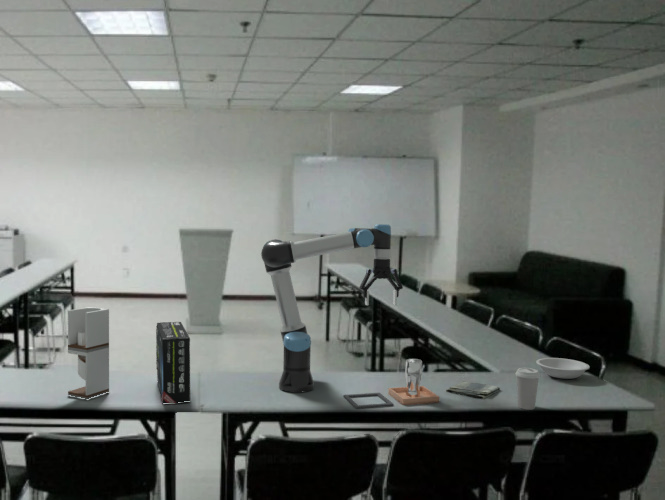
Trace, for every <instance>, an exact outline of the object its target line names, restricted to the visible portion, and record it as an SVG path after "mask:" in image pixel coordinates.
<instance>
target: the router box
mask: <svg viewBox="0 0 665 500" xmlns="http://www.w3.org/2000/svg"><path fill="white" fill-rule="evenodd" d="M155 333H156V334H155V335H156V336H155V340H156V343H155V344H156V345H155V346H156V347H155V349H156V350H155V351H156V353H155V354H156V358H155V359H156V362H155V364H156V370H157V371H156V375H157V376H156V379H157V381H158V382H157V386H158V385H159V386H158V390H159V394H161V395H160V399H161V398H162V399H161V403H162V402H163V403H178V402H184V401H190V402H191V350H190V347H191V338H190V336H189V334H188V332H187V330H186V329H185V326H184V325H183V323H182V321H168V322H161V321H160V322H157V323H156V328H155ZM163 403H162V404H163Z"/></svg>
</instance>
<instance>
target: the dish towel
mask: <svg viewBox="0 0 665 500" xmlns="http://www.w3.org/2000/svg"><path fill="white" fill-rule="evenodd" d="M500 390H501V388H500V387H499V386H496V385H492V384H485V383H479V382H472V381H466V380H463V381H462V382H460V383H458V384H456V385H453V386H451V387H449V388H447V389H445V392H446V393H452V394H456V395H459V394H460V395H462V396H466V397H468V398H475V399H476V398H477V399H481V400H484V399H487V398H488V397H489V396H491V395H493V394H495V393H497V392H500ZM460 395H459V396H460Z"/></svg>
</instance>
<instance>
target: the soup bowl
mask: <svg viewBox="0 0 665 500" xmlns="http://www.w3.org/2000/svg"><path fill="white" fill-rule="evenodd" d="M535 362H536V364H537V365H538V366H539V367H540V369H541V370H542V372H544V373H545V374H546V375H548V376H550V377H553V378H557V379H565V380H566V379H567V380H569V379H570V380H572V379H576V378H579V377H580V376H582V375H583V374H584V373H585V372H586V371H587V370H590V367H591V366H590V365H589V364H588V363H585V362H583V361H580V360H575V359H570V358H569V359H568V358H561V357H560V358H559V357H544V358H540V359H539V358H538V359H536V361H535Z"/></svg>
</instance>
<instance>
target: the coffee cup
mask: <svg viewBox="0 0 665 500" xmlns="http://www.w3.org/2000/svg"><path fill="white" fill-rule="evenodd" d="M514 374H515V376H516V389H517V390H516V392H517V393H516V394H517V397H516V398H517V407H518V408H519V409H523V410H527V411H529V410H531V411H532V410H534V409H535V408H536V401H537V393H538V387H539V379H540V378H541V375H540V373H539V370H538V369H535V368H531V367H520V368H517V370H516V372H515V373H514Z"/></svg>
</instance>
